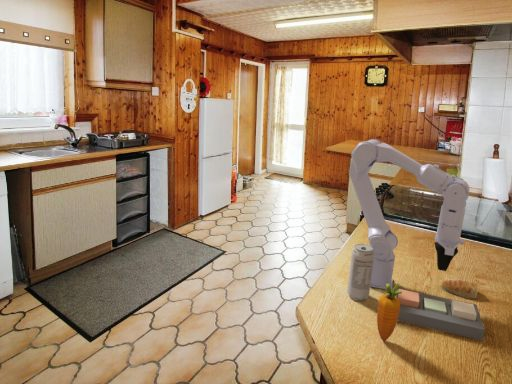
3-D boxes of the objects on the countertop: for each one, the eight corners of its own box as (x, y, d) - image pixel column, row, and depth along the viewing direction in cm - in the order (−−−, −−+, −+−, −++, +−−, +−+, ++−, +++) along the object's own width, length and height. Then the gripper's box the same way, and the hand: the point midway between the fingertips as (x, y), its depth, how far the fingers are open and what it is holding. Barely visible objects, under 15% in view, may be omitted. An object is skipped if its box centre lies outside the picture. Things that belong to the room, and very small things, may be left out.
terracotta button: (397, 307, 97) (398, 297, 96) (397, 298, 101) (398, 288, 100) (417, 312, 95) (419, 302, 94) (416, 302, 99) (418, 293, 99)
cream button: (451, 320, 92) (454, 309, 91) (449, 310, 97) (451, 299, 96) (474, 325, 90) (476, 314, 90) (471, 314, 95) (473, 304, 94)
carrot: (389, 334, 88) (398, 277, 84) (398, 347, 84) (407, 289, 80) (369, 333, 88) (377, 277, 84) (376, 347, 83) (385, 288, 79)
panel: (389, 318, 94) (391, 308, 94) (391, 296, 105) (392, 287, 105) (482, 340, 87) (485, 330, 86) (474, 314, 98) (476, 304, 97)
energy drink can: (368, 292, 107) (375, 245, 103) (368, 303, 101) (375, 253, 97) (347, 288, 108) (353, 241, 105) (346, 299, 103) (351, 249, 99)
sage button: (423, 317, 95) (425, 307, 94) (422, 307, 99) (424, 297, 98) (444, 322, 93) (446, 311, 92) (442, 312, 97) (444, 302, 97)
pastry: (441, 293, 108) (444, 282, 107) (439, 283, 114) (441, 272, 114) (478, 301, 105) (480, 289, 104) (473, 290, 111) (476, 278, 110)
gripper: (471, 235, 91) (461, 284, 94) (463, 218, 104) (454, 261, 107) (440, 230, 93) (431, 278, 97) (435, 214, 106) (428, 257, 110)
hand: (441, 269), depth 102 cm, fingers closed
